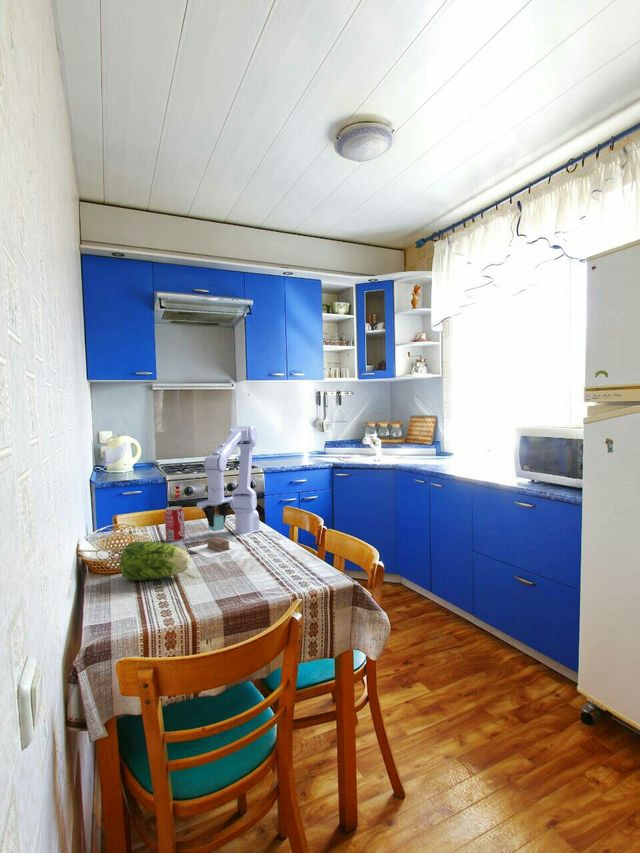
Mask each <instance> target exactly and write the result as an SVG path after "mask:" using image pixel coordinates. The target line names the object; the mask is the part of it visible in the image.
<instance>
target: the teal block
mask: <svg viewBox="0 0 640 853" xmlns="http://www.w3.org/2000/svg"><path fill="white" fill-rule="evenodd" d="M207 526H208V530H210V531H212V532H218V531H222V530H224V529H225V524H224V516H223V515H220V514H219V513H214V526H213V527H211V526H209V524H208V525H207Z"/></svg>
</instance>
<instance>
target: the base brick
mask: <svg viewBox="0 0 640 853" xmlns="http://www.w3.org/2000/svg"><path fill="white" fill-rule="evenodd" d="M224 539H225V538H222V537H219V536H215V537H210V538H208V539H207V544H208V548H211V549H213V550H216V551H219V552H221V551H225V550H228V549H229V541H230V540H229V541H227V540H228V539H226V540H224Z"/></svg>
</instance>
